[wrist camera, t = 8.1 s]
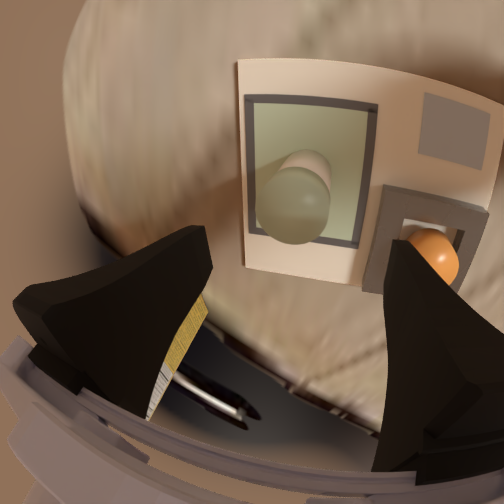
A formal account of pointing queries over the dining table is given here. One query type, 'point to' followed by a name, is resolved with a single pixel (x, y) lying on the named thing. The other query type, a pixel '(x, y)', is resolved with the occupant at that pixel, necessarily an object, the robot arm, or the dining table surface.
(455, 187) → the picture board
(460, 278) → the button base
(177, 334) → the candy box
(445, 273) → the button
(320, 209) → the marker
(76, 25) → the dining table surface
